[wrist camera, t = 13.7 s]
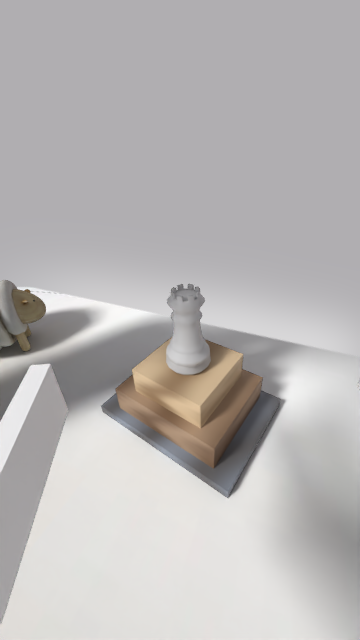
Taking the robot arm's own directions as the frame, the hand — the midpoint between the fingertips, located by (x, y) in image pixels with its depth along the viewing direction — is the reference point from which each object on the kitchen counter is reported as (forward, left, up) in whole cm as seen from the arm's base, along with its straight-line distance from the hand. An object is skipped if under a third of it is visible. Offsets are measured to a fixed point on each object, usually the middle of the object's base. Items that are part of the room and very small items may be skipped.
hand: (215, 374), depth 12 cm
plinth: (-9, +10, -18) cm, 22 cm away
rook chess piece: (-9, +10, -11) cm, 17 cm away
